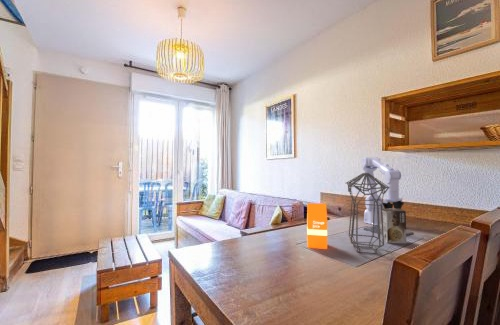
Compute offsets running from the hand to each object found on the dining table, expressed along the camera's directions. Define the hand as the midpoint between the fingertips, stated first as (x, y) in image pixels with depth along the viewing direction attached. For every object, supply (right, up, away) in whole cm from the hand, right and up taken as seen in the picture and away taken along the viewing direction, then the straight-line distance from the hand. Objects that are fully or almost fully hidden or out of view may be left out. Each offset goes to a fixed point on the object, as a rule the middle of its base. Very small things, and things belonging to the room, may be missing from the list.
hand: (393, 214), depth 136 cm
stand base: (-2, -10, +1) cm, 10 cm away
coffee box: (-10, -10, -17) cm, 22 cm away
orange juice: (-50, -10, -24) cm, 57 cm away
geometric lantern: (-30, -10, -31) cm, 44 cm away
